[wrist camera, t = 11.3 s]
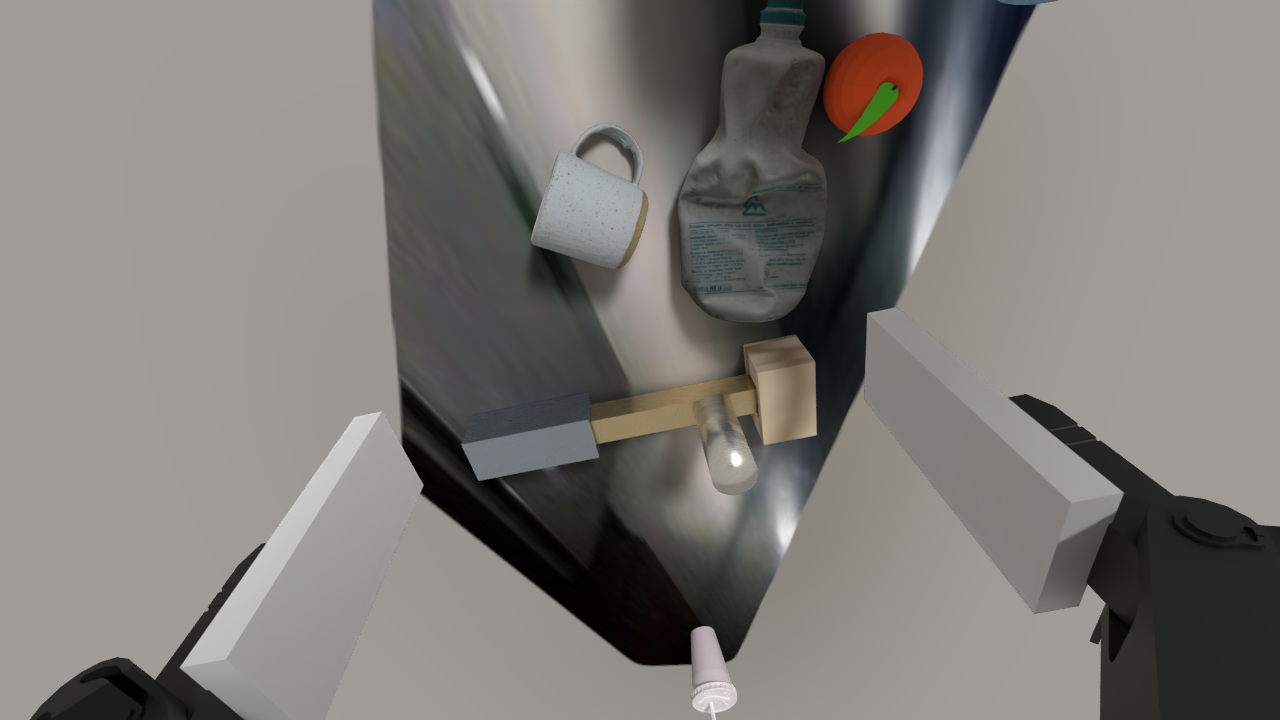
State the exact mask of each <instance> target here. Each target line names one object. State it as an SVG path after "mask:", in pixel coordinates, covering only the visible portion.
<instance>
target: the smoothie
mask: <svg viewBox="0 0 1280 720" xmlns="http://www.w3.org/2000/svg"><path fill="white" fill-rule="evenodd" d="M691 655H692V685H693V692H692V694H691V699H692V705H693V707H694V708H695V709H696V710H698V711H701V712H705V713H711V716H712V720H716V717H715V713H716V712H721V711H724V710H727V709H729V708H731V707H732V706H733V705H734V704H735V703H736V701H737V694H736V688H735V687H734V686H733V685H732V683H731V680H730V676H729V674H728V671H727V668H726V665H725V662H724V659H723V656H722V653H721V650H720V647H719V643H718V640H717V637H716V634H715V631H714V630H713V629H712V628H711V627H706V626H703V627H698V628H696V629H694V630H693V631H692V632H691Z"/></svg>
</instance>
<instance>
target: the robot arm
mask: <svg viewBox="0 0 1280 720" xmlns="http://www.w3.org/2000/svg"><path fill="white" fill-rule="evenodd" d="M998 1H999V2H1002V3H1006V4H1016V5H1030V4H1040V3H1047V2H1053V1H1057V0H998ZM864 399H865V400H866V402H867V403H868V404H869V406H870V407H871V408H872V409H873V410H874V412H875V413H876V414H877V416H878V417H879V418H880V419H881V421H882V422H883V423H884V424H885V426H886V427H887V428H888V430H889V431H890V432H891V433H892V434H893V436H894V437H895V438H896V440H897V441H898V442H899V443H900V445H901V446H902V447H903V448H904V450H905V451H906V452H907V454H908V455H909V456H910V457H911V459H912V460H913V461H914V462H915V464H916V465H917V466H918V468H919V469H920V470H921V471H922V473H923V474H924V475H925V476H926V478H927V479H928V480H929V481H930V483H931V484H932V485H933V487H934V488H935V489H936V490H937V492H938V493H939V494H940V495H941V497H942V498H943V499H944V500H945V502H946V503H947V504H948V505H949V507H950V508H951V509H952V511H953V512H954V513H955V514H956V515H957V517H958V518H959V519H960V521H961V522H962V523H963V525H964V526H965V527H966V528H967V530H968V531H969V532H970V533H971V535H972V536H973V537H974V538H975V540H976V541H977V542H978V543H979V545H980V546H981V547H982V549H983V550H984V551H985V552H986V554H987V555H988V556H989V557H990V559H991V560H992V561H993V563H994V564H995V565H996V566H997V568H998V569H999V570H1000V571H1001V573H1002V574H1003V575H1004V576H1005V578H1006V579H1007V580H1008V582H1009V583H1010V584H1011V585H1012V587H1013V588H1014V589H1015V590H1016V591H1017V593H1018V594H1019V595H1020V597H1021V598H1022V599H1023V600H1024V602H1025V603H1026V604H1027V605H1028V607H1029V608H1030V609H1031V610H1032V612H1033V613H1034V614H1037V613H1043V612H1048V611H1053V610H1059V609H1065V608H1071V607H1076V606H1079V604H1080V602H1081V599H1082V596H1083V594H1084V591H1085V589H1086V587H1087V584H1088V585H1089V586H1090V587H1091V588H1092V589H1093V590H1094V591H1095V592H1096V593H1097V594H1098V595H1099V596H1100V597H1101V599H1102V600H1103V601H1104V602H1105V603H1106V604H1105V606H1104V609H1103V611H1102V613H1101V615H1100V618H1099V620H1098V623H1097V624H1096V627H1095V629H1094V631H1093V634H1092V637H1091V639H1090V642H1093V643H1096V644H1099V642H1100V640H1101V686H1100V720H1280V527H1279V526H1264V525H1258V524H1257V523H1256V522H1254V521H1253V520H1252V519H1251V518H1249V517H1247V516H1245V515H1243V514H1241V513H1239V512H1237V511H1235V510H1233V509H1231V508H1229V507H1227V506H1224V505H1220V504H1218V503H1215V502H1211V501H1208V500H1205V499H1201V498H1193V497H1186V496H1174V495H1173V494H1171V493H1170V492H1168V491H1167V490H1166V489H1164V488H1163V487H1162V486H1160V485H1159V484H1158V483H1156V482H1155V481H1154V480H1152V479H1151V478H1149V477H1148V476H1147V475H1145V474H1144V473H1143V472H1142V471H1140V470H1139V469H1138V468H1136V467H1135V466H1134V465H1132V464H1131V463H1130V462H1128V461H1127V460H1126V459H1124V458H1123V457H1122V456H1120V455H1119V454H1118V453H1116V452H1115V451H1114V450H1112V449H1111V448H1110V447H1108V446H1107V445H1106V444H1104V443H1103V442H1102V441H1097V440H1096V437H1095V436H1094V435H1092V434H1091V433H1090V432H1088V431H1087V430H1086V429H1084V428H1083V427H1079V426H1078V425H1077V423H1076V422H1075V421H1074V420H1072V419H1071V418H1070V417H1068V416H1067V415H1066V414H1064V413H1063V412H1062V411H1060V410H1059V409H1058V408H1057V407H1055V406H1053V405H1050V404H1048V403H1046V402H1043V401H1041V400H1039V399H1036V398H1034V397H1032V396H1029V395H1027V394H1024V395H1019V396H1014V397H1009V398H1007V397H1006V396H1005V395H1004V394H1002V393H1001V392H1000V391H999V390H997V389H996V388H995V387H994V386H993V385H991V384H990V383H989V382H988V381H986V380H985V379H984V378H983V377H982V376H980V375H979V374H978V373H977V372H975V371H974V370H973V369H972V368H971V367H969V366H968V365H967V364H966V363H964V362H963V361H962V360H961V359H960V358H958V357H957V356H956V355H954V354H953V353H952V352H951V351H950V350H949V349H947V348H946V347H945V346H944V345H942V344H941V343H940V342H939V341H937V340H936V339H935V338H934V337H933V336H931V335H930V334H929V333H928V332H927V331H925V330H924V329H923V328H922V327H920V326H919V325H918V324H917V323H916V322H914V321H913V320H912V319H911V318H909V317H908V316H907V315H906V314H904V313H903V312H902V311H901V310H900V309H898V308H897V307H895V308H891V309H886V310H881V311H876V312H871V313H867V336H866V363H865V390H864ZM422 487H423V484H422V482H421V480H420V478H419V477H418V475H417V473H416V471H415V469H414V468H413V466H412V464H411V462H410V461H409V459H408V457H407V455H406V453H405V452H404V450H403V448H402V446H401V444H400V443H399V441H398V439H397V437H396V436H395V434H394V432H393V430H392V428H391V427H390V425H389V423H388V421H387V420H386V418H385V416H384V414H383V412H377V413H372V414H367V415H362V416H357V417H354V419H353V420H352V422H351V423H350V425H349V426H348V428H347V429H346V430H345V432H344V433H343V435H342V436H341V437H340V439H339V440H338V442H337V443H336V445H335V446H334V447H333V449H332V450H331V452H330V453H329V455H328V456H327V458H326V459H325V460H324V462H323V463H322V465H321V466H320V468H319V469H318V471H317V472H316V473H315V475H314V476H313V478H312V479H311V480H310V482H309V483H308V485H307V486H306V488H305V489H304V491H303V492H302V493H301V495H300V496H299V498H298V499H297V501H296V502H295V503H294V505H293V506H292V508H291V509H290V511H289V512H288V513H287V515H286V516H285V518H284V519H283V520H282V522H281V523H280V525H279V526H278V528H277V529H276V531H275V532H274V533H273V535H272V536H271V538H270V539H269V541H268V542H267V543H264V544H261V545H260V546H259V547H257V549H255V550H254V551H253V552H252V553H251V554H250V555H249V556H248V557H247V558H246V559H245V560H243V561H242V562H241V563H240V564H239V565H238V566H237V568H236V569H235V571H234V572H233V573H232V575H231V576H230V577H229V579H228V580H227V582H226V583H225V584H224V586H223V587H222V592H219V593H218V594H217V595H216V597H215V598H214V599H213V601H212V602H211V604H210V605H209V607H208V608H209V610H208V611H207V612H204V613H203V615H202V616H201V617H200V619H199V620H198V622H197V623H196V624H195V626H194V627H193V628H192V630H191V631H190V633H189V634H188V635H187V637H186V638H185V640H184V641H183V642H182V644H181V645H180V647H179V648H178V649H177V651H176V652H175V653H174V655H173V656H172V657H171V659H170V660H169V662H168V663H167V665H166V666H165V667H164V669H163V670H162V671H161V673H160V674H159V675H158V677H157V678H156V680H154V679H153V678H152V677H151V676H149V675H148V674H147V673H145V672H144V671H143V670H142V669H140V668H139V667H138V666H137V665H135V664H134V663H133V662H131V661H130V660H129V659H125V658H119V657H117V658H113V659H110V660H106V661H102V662H100V663H98V664H96V665H94V666H92V667H91V668H88V669H87V670H85V671H83V672H81V673H80V674H79V675H77V676H75V677H74V678H73V679H71V680H70V681H68V682H67V683H66V684H64V685H63V686H62V687H60V688H59V689H58V690H57V691H56V692H55V693H54V694H53V695H52V696H51V697H50V698H49V699H47V700H46V701H45V702H44V703H43V704H42V705H41V706H40V707H39V709H38V710H37V711H36V713H35V714H34V715H33V716H32V718H31V719H30V720H324V719H325V717H326V714H327V712H328V710H329V707H330V705H331V703H332V700H333V698H334V696H335V693H336V691H337V688H338V686H339V683H340V681H341V679H342V677H343V674H344V672H345V670H346V667H347V665H348V662H349V660H350V657H351V655H352V653H353V650H354V648H355V646H356V643H357V641H358V639H359V636H360V634H361V631H362V629H363V627H364V624H365V622H366V620H367V617H368V615H369V613H370V610H371V608H372V606H373V603H374V601H375V598H376V596H377V594H378V591H379V589H380V587H381V584H382V582H383V579H384V577H385V575H386V572H387V570H388V568H389V565H390V563H391V561H392V558H393V556H394V553H395V551H396V549H397V546H398V544H399V542H400V539H401V537H402V534H403V532H404V530H405V527H406V525H407V523H408V520H409V518H410V516H411V513H412V511H413V508H414V506H415V504H416V501H417V499H418V496H419V494H420V492H421V489H422Z"/></svg>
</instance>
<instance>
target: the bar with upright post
mask: <svg viewBox="0 0 1280 720" xmlns="http://www.w3.org/2000/svg"><path fill="white" fill-rule="evenodd" d="M754 413H759V412H758V401H757V390H756V386H755V384H754V382H753V380H752V378H751V376H750V374H749V373H748V374H743V375H738V376H733V377H728V378H723V379H718V380H713V381H708V382H703V383H698V384H693V385H688V386H683V387H678V388H673V389H667V390H662V391H657V392H652V393H647V394H642V395H637V396H632V397H627V398H622V399H617V400H612V401H607V402H602V403H597V404H592V405H590V423H591V427H592V430H593V433H594V437H595V440H596V443H597V444H600V443H605V442H610V441H615V440H620V439H625V438H630V437H636V436H641V435H646V434H651V433H656V432H661V431H666V430H671V429H677V428H682V427H687V426H692V425H697V426H698V430H699V434H700V437H701V441H702V445H703V448H704V452H705V456H706V460H707V463H708V467H709V471H710V474H711V478H712V482H713V485H714V487H715V488H716V489H717V490H718V491H719V492H721V493H723V494H728V495H737V494H741V493H744V492H746V491H748V490H750V489H751V488H752V487H753V486H754V485H755V484H756V482H757V480H758V477H759V472H758V469H757V466H756V464H755V461H754V459H753V456H752V454H751V451H750V448H749V446H748V443H747V441H746V438H745V436H744V433H743V430H742V428H741V425H740V423H739V420H738V418H737V417H738V416H743V415H748V414H754Z"/></svg>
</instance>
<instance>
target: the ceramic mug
mask: <svg viewBox="0 0 1280 720" xmlns="http://www.w3.org/2000/svg"><path fill="white" fill-rule="evenodd" d="M596 133H600V134H605V135H607V136H609V137H611V138H612V139H614V140H616V141H618V142H619V143H620V144H622V145H623V147H624V148H625V149H630V150H631V152H632V154H633V158H634V161H635V167H634V169H635V172H634V177H633V181H632V183H631V182H629V181H627V180H625V179H623V178H621V177H618V176H616V175H613V174H611V173H609V172H607V171H605V170H603V169H601V168H599V167H597V166H595V165H593V164H591V163H589V162H586V161H584V160H582V159H580V158H578V157H577V156H576V152H577V150H578V148H579V147H580V145H581V144H582V143H583V142H584V141H585V140H586V139H587V138H588V137H590V136H591V135H593V134H596ZM642 169H643V157H642V153H641V150H640V148H639V146H638V144H637V142H636V140H635V139H634V138H633V137H632V136H631V135H630V134H629V133H628V132H626V131H625V130H623V129H621V128H620V127H618V126H615V125H612V124H608V123H606V124H598V125H595V126H593V127H591V128H589V129H588V130H586V131H585V132H584V133H583V134H582V135H581V136H580V137H579V138H578V140H577V141H576V143H575V144H574V146H573V148H572V150H571V152H570V153H567V152H565V151H562V150H560V151H559V152H558V155H557V158H556V160H555V164H554V166H553V169H552V172H551V176H550V179H549V181H548V184H547V187H546V191H545V194H544V197H543V200H542V203H541V206H540V210H539V213H538V216H537V220H536V222H535V226H534V230H533V234H532V237H531V243H532V244H533V245H535V246H539V247H542V248H545V249H548V250H551V251H555V252H558V253H561V254H564V255H567V256H570V257H573V258H577V259H581V260H583V261H586V262H589V263H592V264H595V265H598V266H602V267H607V268H614V269H616V268H621V267H623V266H624V265H625V264H626V263H627V262H628V261H629V259H630V258H631V256H632V254H633V252H634V250H635V248H636V246H637V244H638V242H639V239H640V236H641V233H642V230H643V227H644V224H645V220H646V216H647V211H648V198H647V196H646V194H645V192H644V191H643V190H641V189H640V188H639V187H638V184H639V181H640V178H641V175H642Z"/></svg>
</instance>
